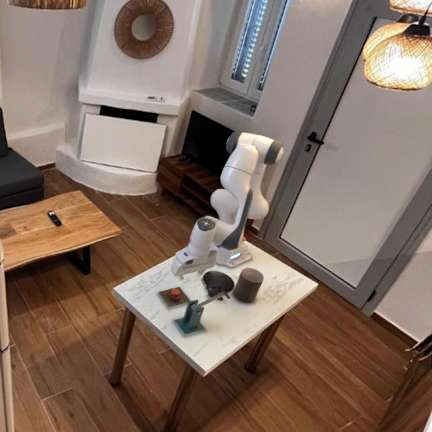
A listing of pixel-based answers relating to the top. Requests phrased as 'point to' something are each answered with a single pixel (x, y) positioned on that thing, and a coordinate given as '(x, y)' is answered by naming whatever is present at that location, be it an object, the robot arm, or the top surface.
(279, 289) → the top surface
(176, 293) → the button
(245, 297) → the pillar candle
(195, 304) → the lever
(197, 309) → the bracket
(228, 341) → the top surface
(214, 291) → the gaming controller
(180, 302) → the control block
